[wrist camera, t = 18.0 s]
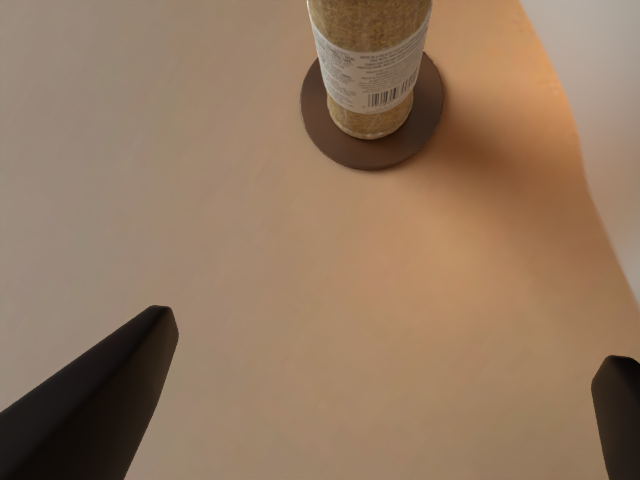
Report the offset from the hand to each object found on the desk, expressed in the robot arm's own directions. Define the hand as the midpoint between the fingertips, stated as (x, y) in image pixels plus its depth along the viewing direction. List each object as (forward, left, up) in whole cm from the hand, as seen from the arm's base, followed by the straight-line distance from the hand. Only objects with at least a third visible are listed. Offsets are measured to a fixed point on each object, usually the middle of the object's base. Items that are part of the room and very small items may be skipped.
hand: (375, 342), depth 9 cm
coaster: (+11, +3, -13) cm, 18 cm away
